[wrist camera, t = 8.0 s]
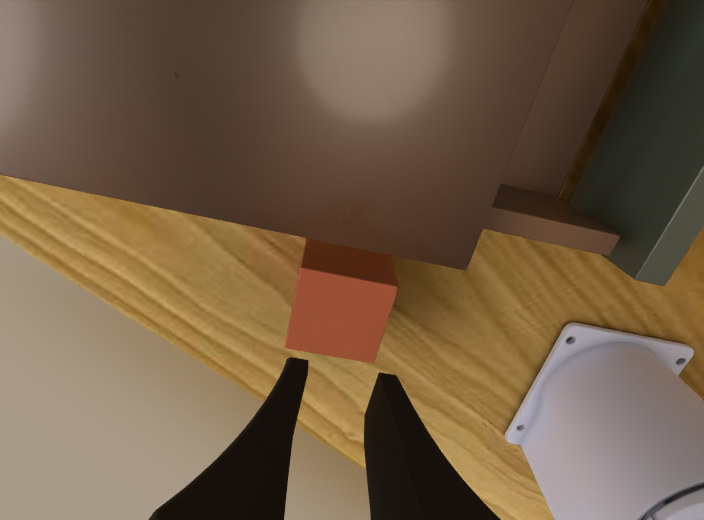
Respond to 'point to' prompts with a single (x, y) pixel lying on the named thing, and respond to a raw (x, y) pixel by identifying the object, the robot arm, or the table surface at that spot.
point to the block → (341, 301)
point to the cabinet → (280, 110)
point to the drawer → (615, 142)
